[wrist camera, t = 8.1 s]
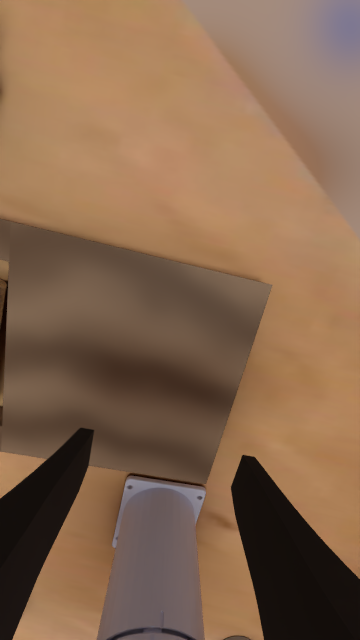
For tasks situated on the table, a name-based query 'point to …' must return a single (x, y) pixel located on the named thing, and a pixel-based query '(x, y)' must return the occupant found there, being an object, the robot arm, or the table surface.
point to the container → (237, 638)
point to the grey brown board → (121, 353)
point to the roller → (2, 297)
